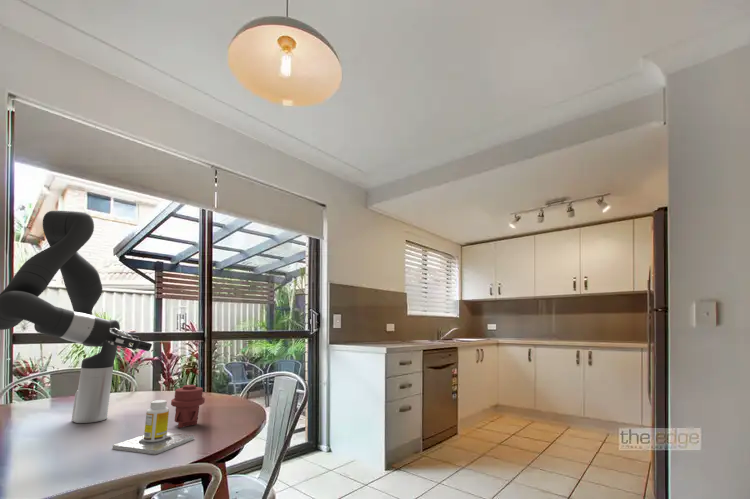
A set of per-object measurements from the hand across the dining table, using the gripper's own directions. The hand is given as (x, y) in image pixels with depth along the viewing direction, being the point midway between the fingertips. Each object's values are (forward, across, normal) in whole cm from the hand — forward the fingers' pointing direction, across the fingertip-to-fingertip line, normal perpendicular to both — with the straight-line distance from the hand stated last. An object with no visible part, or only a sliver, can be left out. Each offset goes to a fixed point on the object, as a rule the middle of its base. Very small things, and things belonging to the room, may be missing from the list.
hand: (144, 344), depth 118 cm
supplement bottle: (+9, -12, +22) cm, 27 cm away
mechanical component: (+24, +1, +21) cm, 32 cm away
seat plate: (+10, -12, +23) cm, 28 cm away
